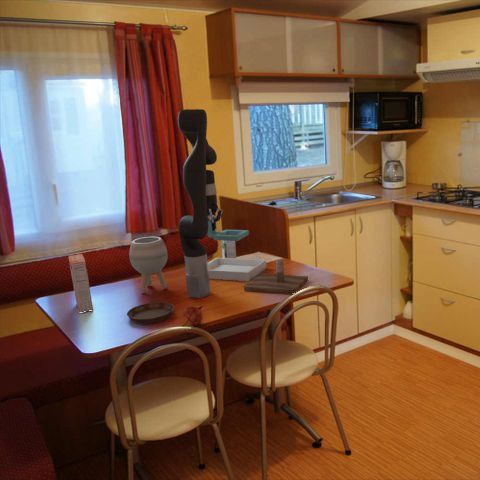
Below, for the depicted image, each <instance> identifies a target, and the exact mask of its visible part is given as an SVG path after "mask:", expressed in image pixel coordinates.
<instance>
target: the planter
mask: <svg viewBox="0 0 480 480" xmlns="http://www.w3.org/2000/svg"><path fill="white" fill-rule="evenodd" d="M128 255H129V261H130V264H131V266H132V267H133V268H134V270H135V271H137V272H138V273H139V274H141V280H140V281H141V283H140V293H141V295H142V294H145V293H146V291H147V287H151V286H152V274H155V275H156V277H157V280H158V281H159V283H160V286H161V288H162V290H166V289H168V286H167V283H166V280H165V278H164V274H163V272H162V270H163V268H165V266H166V264H167V261H168V250H167V246H166V244H165V242H164V240H163V239H162V237H160V236H146V237H145V236H144V237H143V236H142V237H138V238H136V239H134V240H132V241H131V244H130V248H129V254H128Z"/></svg>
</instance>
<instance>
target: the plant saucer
mask: <svg viewBox="0 0 480 480" xmlns="http://www.w3.org/2000/svg"><path fill="white" fill-rule="evenodd" d="M174 310H175V306H174V305H173V304H171V303H170V302H162V301H158V302H157V301H155V302H148V303H147V302H146V303H143V304H140V305H137V306H134V307H132V308H131V309H129V310H128V311H127V313H126V316H127V317H128V319H130V320H131V321H132V322H133V323H135V322H136V324H139V323H141V324H142V325H149V324H155V323H158V322H162V321H165V320H166V319H168V318H169V317H170V316H171V314H172V313H173V311H174Z"/></svg>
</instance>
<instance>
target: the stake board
mask: <svg viewBox="0 0 480 480" xmlns="http://www.w3.org/2000/svg"><path fill="white" fill-rule="evenodd" d="M275 267H276V268H275V269H276V274H274V273H262V272H261V273H260V274H258V275H257V276H256V277H254V278H253V279H252V280H250V281H248V283H246V284H245V285H244V286H243V288H244V289H243V291H244V292H254V293H255V292H256V293H269V294H280V295H281V294H283V295H293V294H292V293H294V292H296V291H297V292H299V291H300V289H302V287H304V285H306V283H308V281H309V276H307V275H295V274H294V275H292V274H291V275H290V274H285V270H284V260H282V259H277V260H275ZM297 292H296V293H297Z"/></svg>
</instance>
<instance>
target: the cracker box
mask: <svg viewBox="0 0 480 480" xmlns="http://www.w3.org/2000/svg"><path fill="white" fill-rule="evenodd" d="M68 261H69V262H68V263H69V268H70V274H71V279H72V286H73V291H74V297H75V303H76V307H77V310H78V313H79V312H84V311H89V310H93V311H94V306H93V300H92V295H91V288H90V281H89V275H88V269H87V264H86V260H85V257H84V256H83V254H82V253H80V254H73V255H72V254H71V255H68Z"/></svg>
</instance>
